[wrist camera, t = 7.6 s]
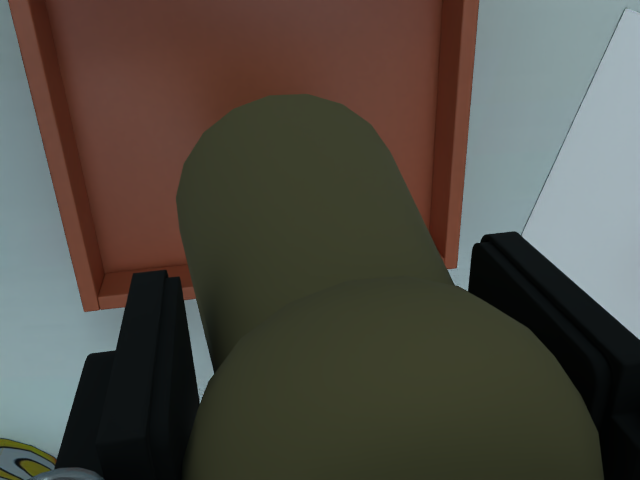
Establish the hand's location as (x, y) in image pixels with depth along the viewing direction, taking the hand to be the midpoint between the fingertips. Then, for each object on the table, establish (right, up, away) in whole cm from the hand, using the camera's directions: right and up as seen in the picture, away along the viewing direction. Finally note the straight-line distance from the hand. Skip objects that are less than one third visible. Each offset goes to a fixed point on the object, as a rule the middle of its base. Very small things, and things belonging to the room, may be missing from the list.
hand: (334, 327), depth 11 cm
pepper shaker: (-1, +3, +5) cm, 6 cm away
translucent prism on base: (+16, +3, +18) cm, 25 cm away
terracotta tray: (-3, +6, +13) cm, 14 cm away
